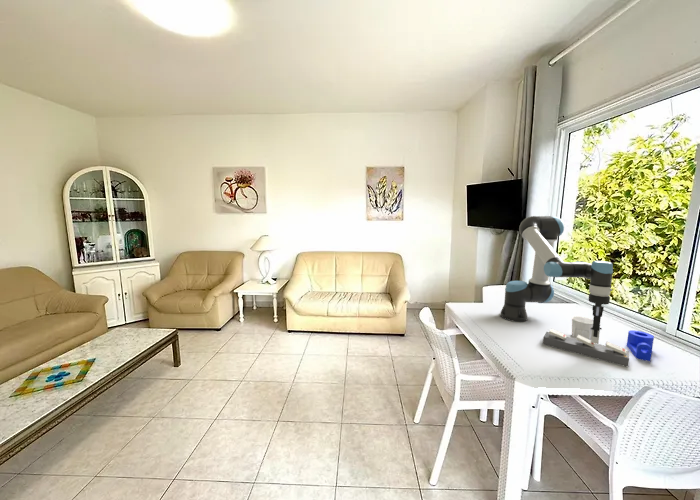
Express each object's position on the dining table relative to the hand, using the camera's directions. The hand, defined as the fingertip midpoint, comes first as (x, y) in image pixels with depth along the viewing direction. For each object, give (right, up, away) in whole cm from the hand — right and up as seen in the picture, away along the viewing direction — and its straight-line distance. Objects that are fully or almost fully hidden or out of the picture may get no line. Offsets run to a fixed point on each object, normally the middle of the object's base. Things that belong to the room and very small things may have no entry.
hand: (594, 342), depth 140 cm
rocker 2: (-2, -1, +3) cm, 4 cm away
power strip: (-3, -6, +4) cm, 7 cm away
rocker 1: (-11, +1, +10) cm, 15 cm away
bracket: (+25, -6, +3) cm, 26 cm away
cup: (+9, -4, +20) cm, 22 cm away
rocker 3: (+6, -2, -5) cm, 7 cm away
